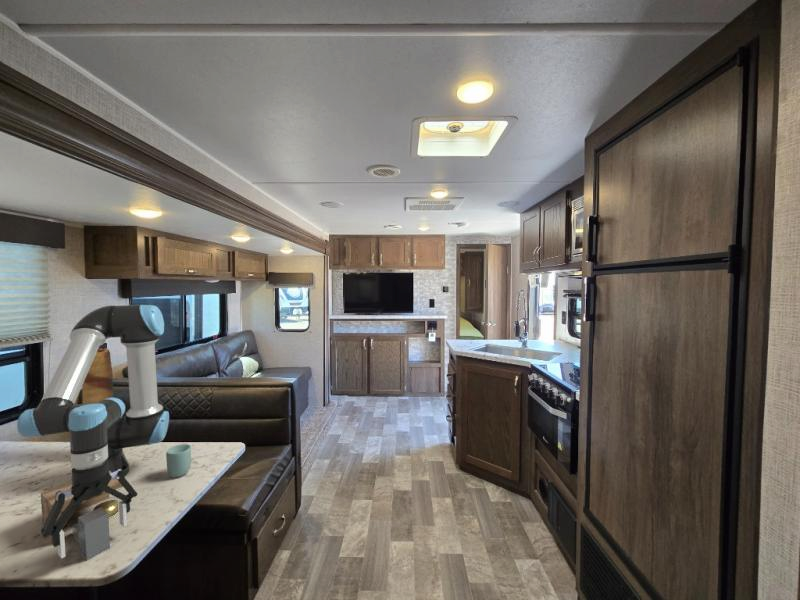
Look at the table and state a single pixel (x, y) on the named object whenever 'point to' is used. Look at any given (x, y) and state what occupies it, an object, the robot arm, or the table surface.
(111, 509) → the gold metal dome
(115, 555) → the table surface
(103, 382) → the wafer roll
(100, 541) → the grey toy mallet
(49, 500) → the brown piece
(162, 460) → the table surface
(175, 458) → the cup
